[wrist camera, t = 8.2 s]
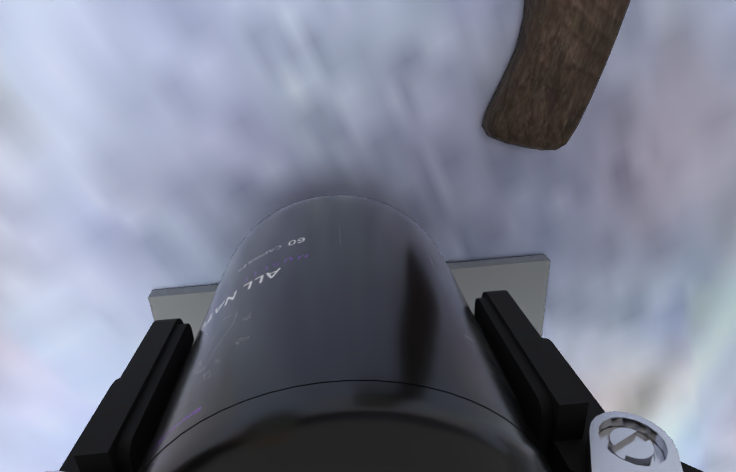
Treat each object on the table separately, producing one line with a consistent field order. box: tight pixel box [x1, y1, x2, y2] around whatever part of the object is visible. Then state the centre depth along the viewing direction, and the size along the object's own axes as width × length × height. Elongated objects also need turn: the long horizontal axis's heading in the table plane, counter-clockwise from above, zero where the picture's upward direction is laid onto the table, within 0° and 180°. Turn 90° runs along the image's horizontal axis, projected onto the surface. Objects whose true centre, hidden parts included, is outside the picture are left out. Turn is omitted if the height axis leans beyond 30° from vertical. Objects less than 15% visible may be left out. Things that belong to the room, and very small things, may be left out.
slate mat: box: [148, 255, 550, 340], centre depth 23 cm, size 17×17×1 cm
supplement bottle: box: [138, 195, 554, 472], centre depth 9 cm, size 7×7×12 cm
